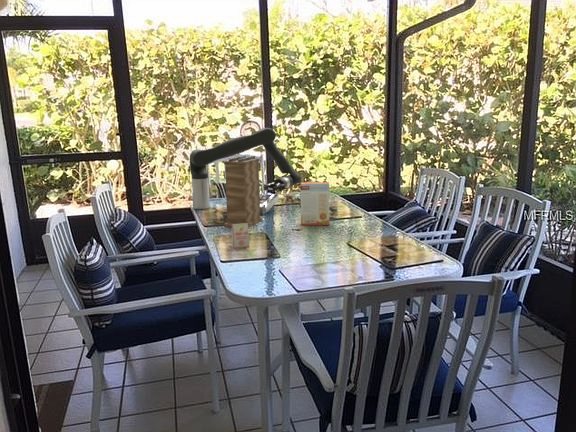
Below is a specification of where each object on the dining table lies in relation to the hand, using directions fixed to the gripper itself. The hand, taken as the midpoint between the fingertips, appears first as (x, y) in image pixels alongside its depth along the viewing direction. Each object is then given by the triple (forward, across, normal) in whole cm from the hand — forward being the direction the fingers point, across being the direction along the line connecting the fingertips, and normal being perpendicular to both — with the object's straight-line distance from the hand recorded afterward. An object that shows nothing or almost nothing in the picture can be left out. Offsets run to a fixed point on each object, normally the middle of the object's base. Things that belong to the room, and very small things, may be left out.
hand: (269, 188), depth 275 cm
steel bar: (+1, 0, +10) cm, 10 cm away
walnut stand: (+30, 0, +12) cm, 33 cm away
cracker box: (+19, +34, +13) cm, 41 cm away
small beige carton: (+67, +17, +13) cm, 70 cm away
